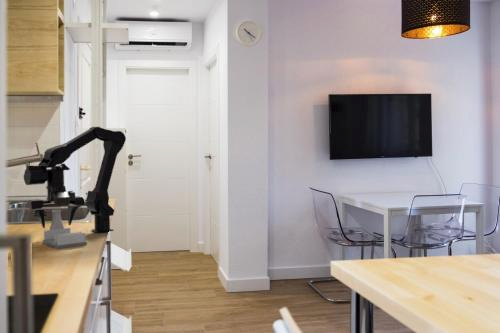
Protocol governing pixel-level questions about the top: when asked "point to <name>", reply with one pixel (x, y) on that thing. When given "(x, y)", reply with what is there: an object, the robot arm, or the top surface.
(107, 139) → the robot arm
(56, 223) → the flask
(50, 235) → the grey stepped block
